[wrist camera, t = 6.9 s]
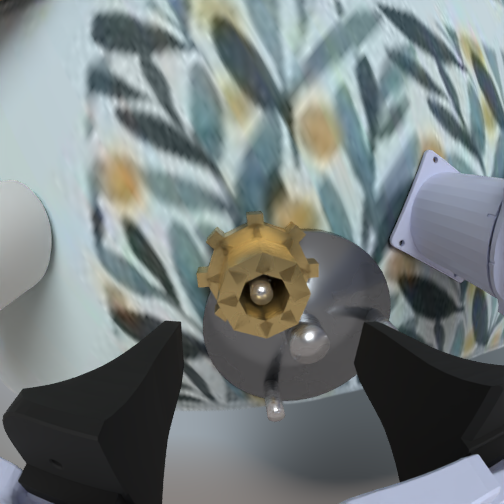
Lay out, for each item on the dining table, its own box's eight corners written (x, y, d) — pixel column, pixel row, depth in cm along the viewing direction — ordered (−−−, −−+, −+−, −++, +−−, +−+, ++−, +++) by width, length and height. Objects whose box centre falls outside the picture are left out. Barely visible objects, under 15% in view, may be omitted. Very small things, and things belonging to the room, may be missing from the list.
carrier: (411, 270, 21) (445, 292, 17) (330, 403, 25) (344, 439, 20) (249, 195, 19) (254, 204, 15) (180, 364, 22) (172, 404, 18)
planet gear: (328, 234, 19) (354, 253, 15) (288, 329, 21) (301, 367, 16) (220, 197, 18) (216, 206, 14) (188, 302, 20) (178, 337, 15)
